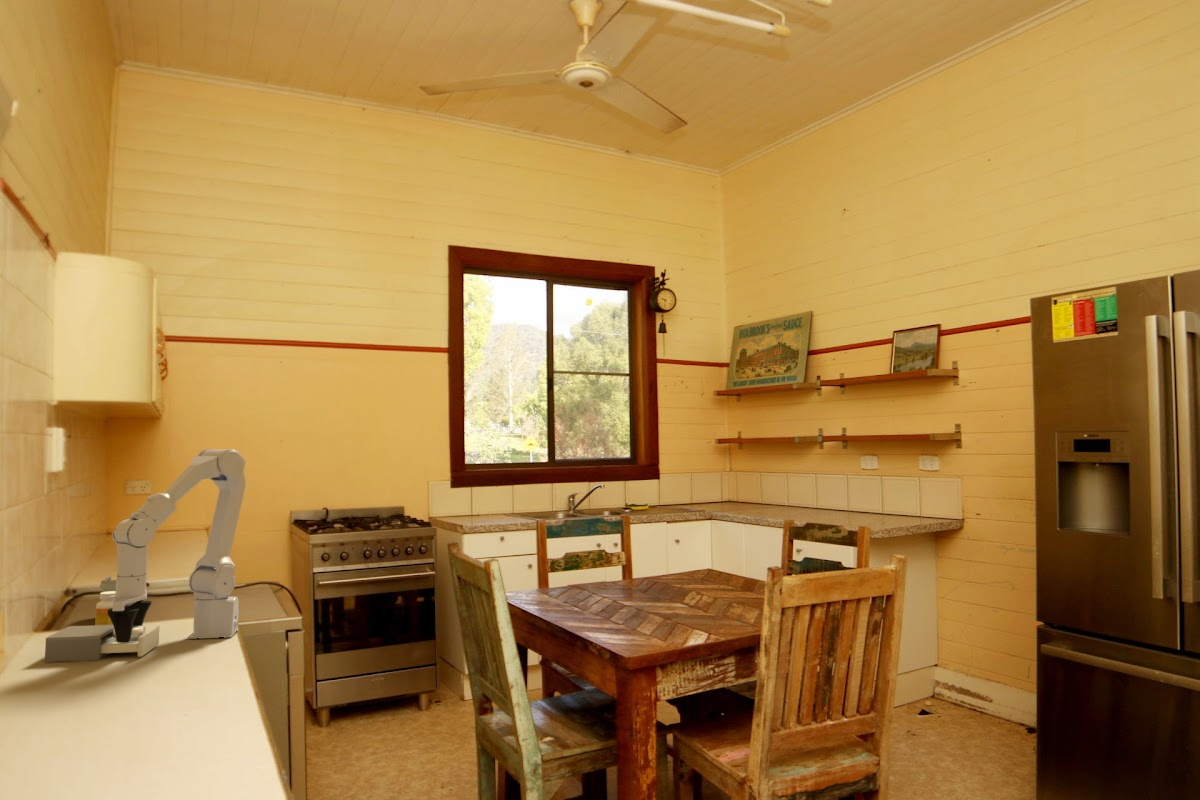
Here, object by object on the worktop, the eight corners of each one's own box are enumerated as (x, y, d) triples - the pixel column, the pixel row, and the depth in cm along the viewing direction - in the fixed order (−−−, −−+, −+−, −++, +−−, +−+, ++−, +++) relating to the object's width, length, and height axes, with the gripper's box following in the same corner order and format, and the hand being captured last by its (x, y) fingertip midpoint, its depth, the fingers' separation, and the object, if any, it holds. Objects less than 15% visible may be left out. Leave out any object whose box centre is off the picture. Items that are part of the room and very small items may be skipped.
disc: (119, 633, 173) (120, 625, 173) (147, 632, 174) (147, 625, 174) (108, 638, 168) (108, 631, 168) (136, 638, 169) (137, 630, 169)
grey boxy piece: (118, 647, 175) (119, 624, 176) (98, 660, 165) (99, 635, 165) (68, 649, 173) (69, 626, 174) (44, 662, 163) (45, 637, 163)
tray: (158, 644, 177) (159, 626, 177) (141, 656, 167) (142, 637, 167) (109, 646, 175) (110, 627, 175) (88, 658, 164) (89, 639, 165)
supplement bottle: (111, 636, 186) (113, 594, 186) (89, 636, 186) (91, 594, 186) (126, 631, 191) (127, 590, 192) (104, 631, 191) (106, 590, 192)
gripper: (123, 570, 178) (120, 631, 177) (97, 580, 164) (94, 647, 163) (158, 569, 180) (155, 630, 179) (135, 580, 165) (132, 646, 165)
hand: (128, 638), depth 171 cm, fingers closed on disc, 6 cm apart
